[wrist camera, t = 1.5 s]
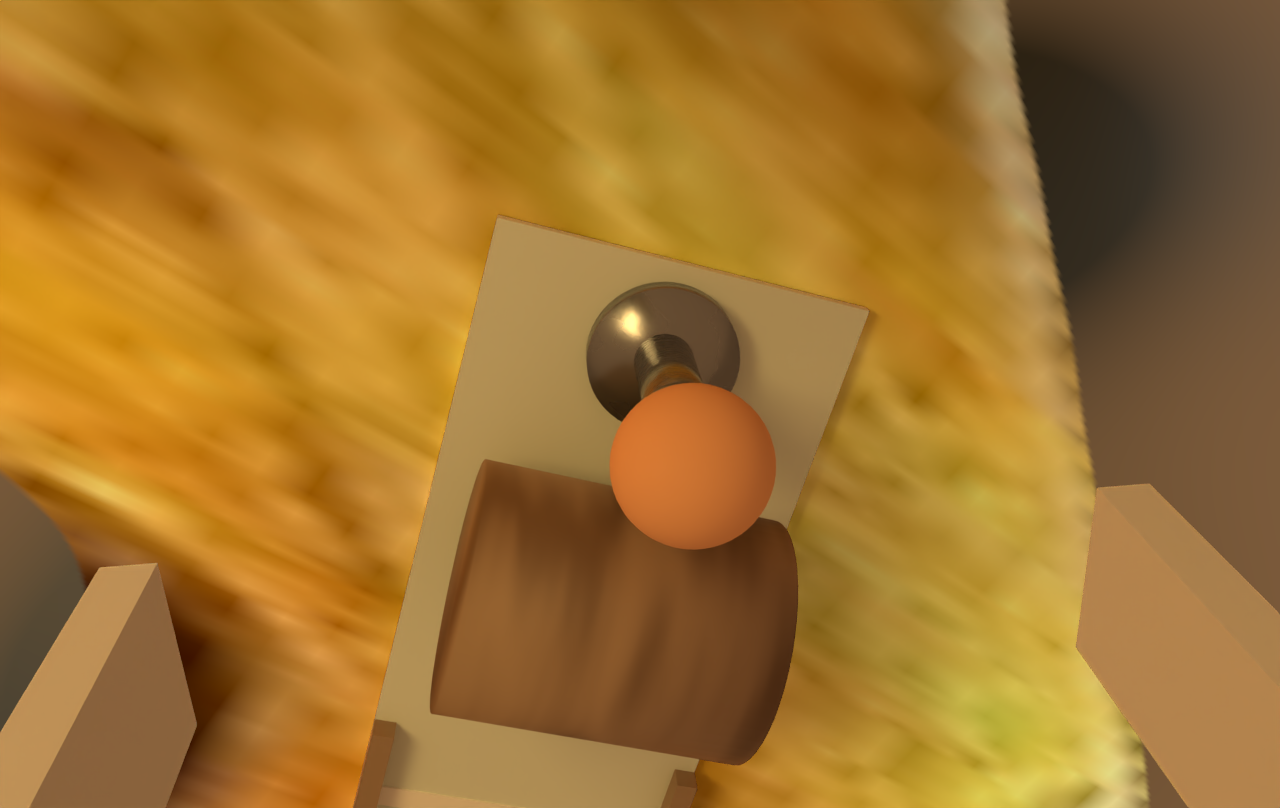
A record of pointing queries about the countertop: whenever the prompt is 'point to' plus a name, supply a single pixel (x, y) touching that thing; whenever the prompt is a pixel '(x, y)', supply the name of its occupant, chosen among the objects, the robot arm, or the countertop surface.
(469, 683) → the log
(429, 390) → the countertop surface
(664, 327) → the doorknob
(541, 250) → the lane
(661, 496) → the ball
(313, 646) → the countertop surface
